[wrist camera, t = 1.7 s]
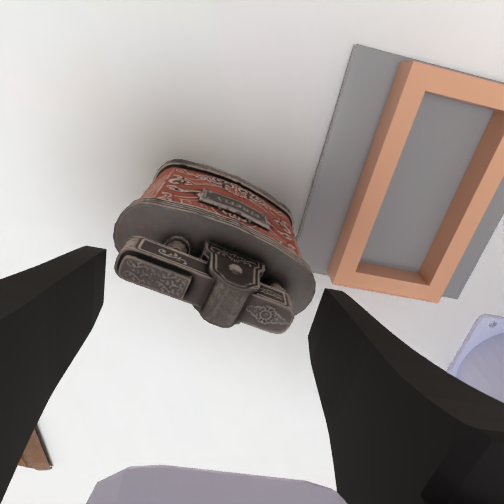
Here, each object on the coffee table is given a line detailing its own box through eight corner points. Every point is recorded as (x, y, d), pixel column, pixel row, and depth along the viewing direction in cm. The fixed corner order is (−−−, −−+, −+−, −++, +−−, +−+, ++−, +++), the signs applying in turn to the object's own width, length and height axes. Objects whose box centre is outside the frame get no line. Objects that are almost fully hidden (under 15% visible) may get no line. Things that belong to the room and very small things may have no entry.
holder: (557, 98, 19) (591, 101, 17) (453, 294, 24) (470, 312, 22) (354, 44, 18) (367, 41, 16) (289, 264, 23) (293, 281, 21)
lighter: (302, 205, 21) (349, 304, 12) (276, 254, 22) (300, 377, 13) (167, 144, 19) (103, 206, 10) (147, 201, 21) (74, 300, 12)
